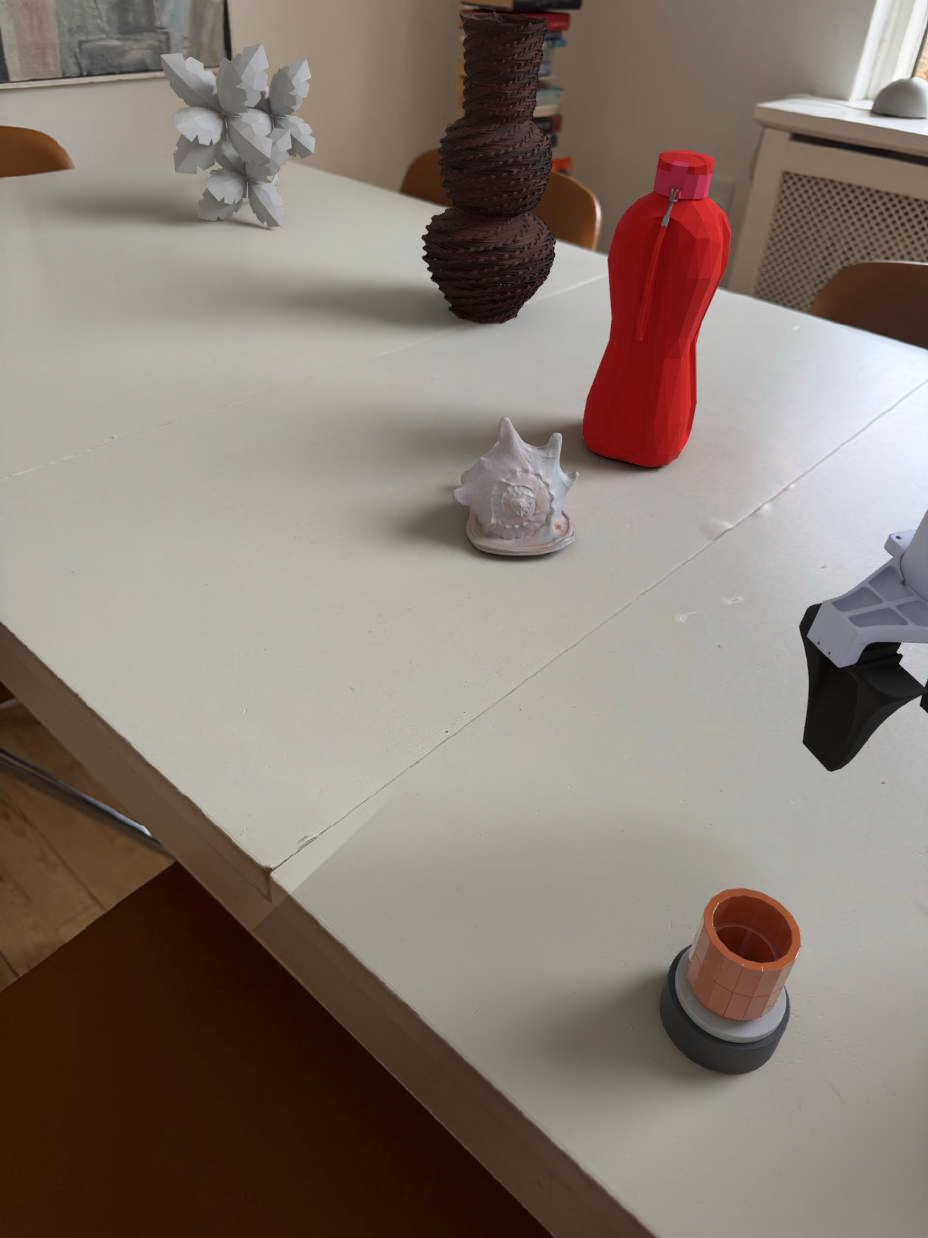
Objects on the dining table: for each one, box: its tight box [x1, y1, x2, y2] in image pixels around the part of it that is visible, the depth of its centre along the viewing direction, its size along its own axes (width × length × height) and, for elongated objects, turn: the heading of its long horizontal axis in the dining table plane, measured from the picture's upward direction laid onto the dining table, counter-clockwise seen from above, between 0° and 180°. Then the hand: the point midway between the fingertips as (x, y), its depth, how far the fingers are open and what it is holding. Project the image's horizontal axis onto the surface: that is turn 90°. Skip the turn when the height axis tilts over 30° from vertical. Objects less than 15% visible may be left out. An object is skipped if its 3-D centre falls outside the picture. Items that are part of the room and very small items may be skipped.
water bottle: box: [581, 149, 732, 469], centre depth 81 cm, size 9×11×25 cm
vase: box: [420, 11, 557, 324], centre depth 106 cm, size 15×15×30 cm
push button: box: [659, 943, 791, 1075], centre depth 43 cm, size 5×5×2 cm
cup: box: [686, 887, 803, 1021], centre depth 41 cm, size 4×4×4 cm
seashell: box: [451, 416, 580, 556], centre depth 75 cm, size 10×12×9 cm
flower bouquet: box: [159, 42, 316, 228], centre depth 137 cm, size 17×34×21 cm, turn 160°
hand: (881, 736), depth 46 cm, fingers open, 7 cm apart
